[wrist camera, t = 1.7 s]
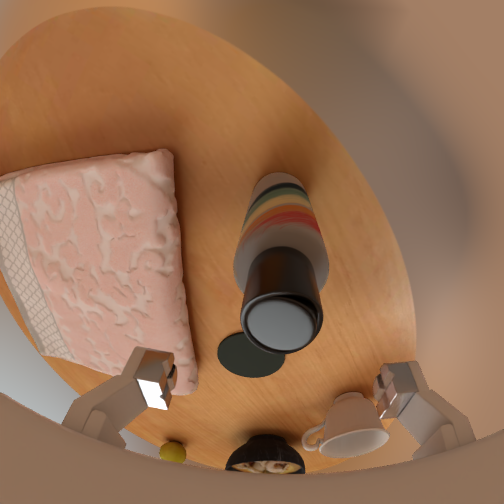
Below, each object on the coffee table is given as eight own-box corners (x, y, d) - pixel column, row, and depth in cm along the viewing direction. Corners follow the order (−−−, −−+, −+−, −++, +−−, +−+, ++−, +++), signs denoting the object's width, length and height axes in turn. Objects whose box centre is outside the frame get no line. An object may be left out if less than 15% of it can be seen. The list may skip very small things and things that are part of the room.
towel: (-4, 171, 30) (-29, 182, 25) (182, 145, 28) (162, 153, 23) (50, 341, 46) (37, 360, 41) (203, 376, 44) (196, 403, 39)
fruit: (159, 440, 61) (148, 476, 50) (168, 434, 58) (157, 474, 48) (182, 449, 62) (173, 485, 52) (193, 444, 60) (184, 483, 49)
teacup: (299, 387, 44) (300, 438, 35) (384, 376, 42) (397, 423, 33) (301, 420, 49) (302, 463, 40) (374, 410, 47) (382, 451, 38)
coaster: (216, 328, 39) (216, 330, 39) (288, 334, 38) (288, 336, 38) (218, 372, 44) (218, 374, 43) (280, 377, 43) (280, 379, 43)
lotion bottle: (306, 222, 31) (337, 369, 13) (253, 223, 31) (224, 370, 14) (306, 170, 28) (355, 274, 11) (250, 171, 29) (208, 275, 11)
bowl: (281, 458, 60) (280, 490, 51) (219, 444, 58) (213, 478, 49) (319, 434, 52) (321, 472, 43) (248, 418, 50) (243, 461, 41)
